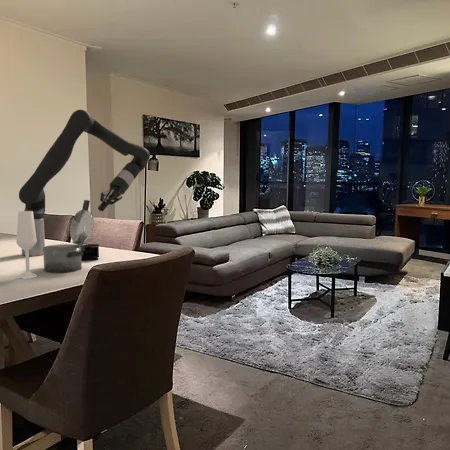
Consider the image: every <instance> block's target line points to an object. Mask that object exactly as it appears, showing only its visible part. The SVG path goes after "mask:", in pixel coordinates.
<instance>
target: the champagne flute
mask: <svg viewBox="0 0 450 450" xmlns="http://www.w3.org/2000/svg"><path fill="white" fill-rule="evenodd" d="M16 227H17V229H16V239H15V240H16V241H15V242H16V244H17V245H18V247H19V248H21V250H22V249H23V250H25V255H24V256H25V271H24V272H23V273H22V274H20V275H19V276H17V278H18V279H20V278H22V279H23V280H26V279H34V278H37V277H39V276H38V274H37V273H36V274H35V273H34V272H32V271H30V256H29V250H30V249H32V248H33V247H34V246H35V244H36V242H37V238H36V231H35V223H34V216H33V211H24V210H22V211H21V210H19V211H18V212H17V226H16Z"/></svg>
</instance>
